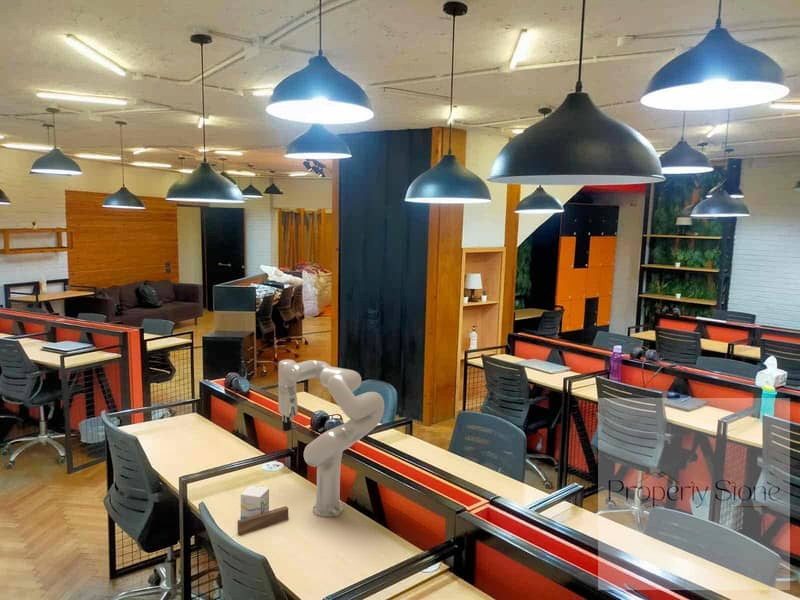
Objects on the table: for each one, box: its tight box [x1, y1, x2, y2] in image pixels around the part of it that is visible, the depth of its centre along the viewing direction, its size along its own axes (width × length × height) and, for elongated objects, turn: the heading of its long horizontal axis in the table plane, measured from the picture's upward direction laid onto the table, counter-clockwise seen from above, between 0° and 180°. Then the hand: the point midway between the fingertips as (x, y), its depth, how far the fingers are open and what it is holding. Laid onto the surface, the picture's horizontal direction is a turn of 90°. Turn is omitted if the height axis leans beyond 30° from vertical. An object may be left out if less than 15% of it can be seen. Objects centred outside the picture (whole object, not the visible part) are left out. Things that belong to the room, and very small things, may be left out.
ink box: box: [239, 485, 270, 520], centre depth 217 cm, size 8×8×12 cm
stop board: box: [237, 505, 289, 536], centre depth 211 cm, size 2×20×5 cm, turn 128°
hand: (287, 430), depth 235 cm, fingers closed
